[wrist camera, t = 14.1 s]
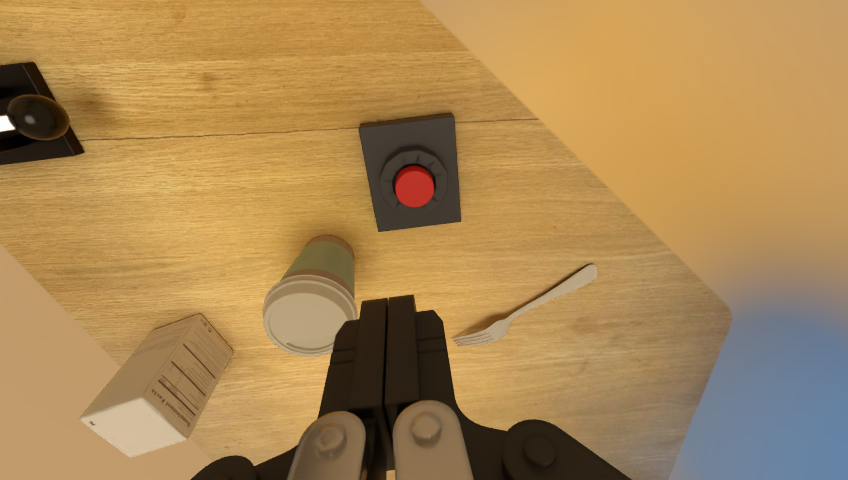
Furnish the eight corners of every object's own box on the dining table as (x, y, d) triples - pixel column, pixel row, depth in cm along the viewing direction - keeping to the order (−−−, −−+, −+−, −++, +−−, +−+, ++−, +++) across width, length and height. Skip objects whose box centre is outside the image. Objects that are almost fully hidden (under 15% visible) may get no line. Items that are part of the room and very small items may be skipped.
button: (392, 167, 35) (392, 173, 33) (430, 162, 35) (432, 168, 33) (398, 202, 36) (398, 209, 35) (434, 198, 36) (435, 205, 35)
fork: (589, 266, 49) (601, 276, 46) (460, 348, 51) (465, 362, 49) (581, 251, 48) (594, 261, 45) (449, 336, 50) (454, 350, 48)
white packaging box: (188, 367, 50) (128, 460, 39) (151, 328, 46) (73, 419, 35) (236, 351, 49) (188, 442, 38) (202, 311, 46) (139, 398, 35)
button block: (360, 123, 36) (356, 132, 33) (451, 112, 36) (457, 120, 33) (379, 223, 41) (377, 240, 38) (458, 213, 41) (463, 229, 38)
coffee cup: (283, 273, 44) (246, 346, 33) (303, 213, 40) (270, 274, 30) (351, 295, 46) (337, 370, 35) (376, 239, 42) (369, 306, 32)
